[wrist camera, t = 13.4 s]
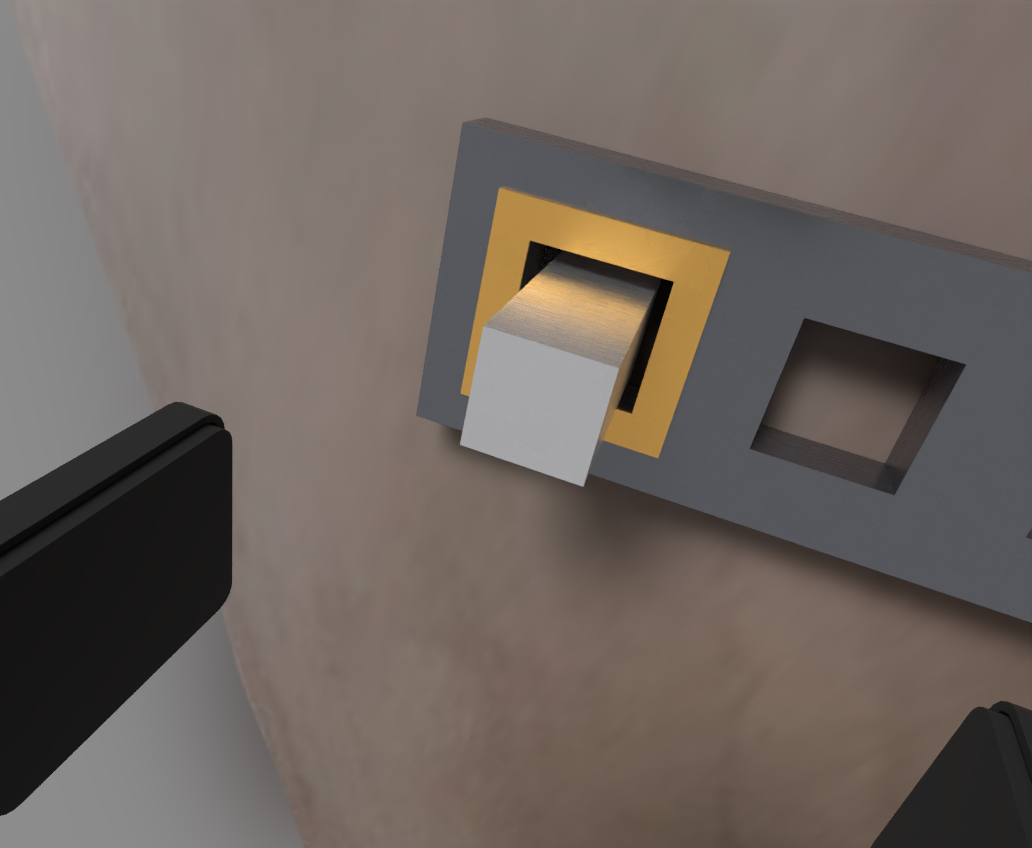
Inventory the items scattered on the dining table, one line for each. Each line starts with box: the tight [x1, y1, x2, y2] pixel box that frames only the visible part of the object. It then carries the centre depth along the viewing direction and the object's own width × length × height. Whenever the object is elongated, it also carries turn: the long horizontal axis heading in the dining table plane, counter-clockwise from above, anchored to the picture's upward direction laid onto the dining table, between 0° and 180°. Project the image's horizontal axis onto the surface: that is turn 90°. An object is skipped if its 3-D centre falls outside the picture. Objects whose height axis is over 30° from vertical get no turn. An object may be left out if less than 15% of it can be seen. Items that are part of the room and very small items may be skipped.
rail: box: [416, 118, 1032, 623], centre depth 28 cm, size 32×12×3 cm, turn 78°
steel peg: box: [460, 250, 662, 487], centre depth 26 cm, size 4×4×10 cm
